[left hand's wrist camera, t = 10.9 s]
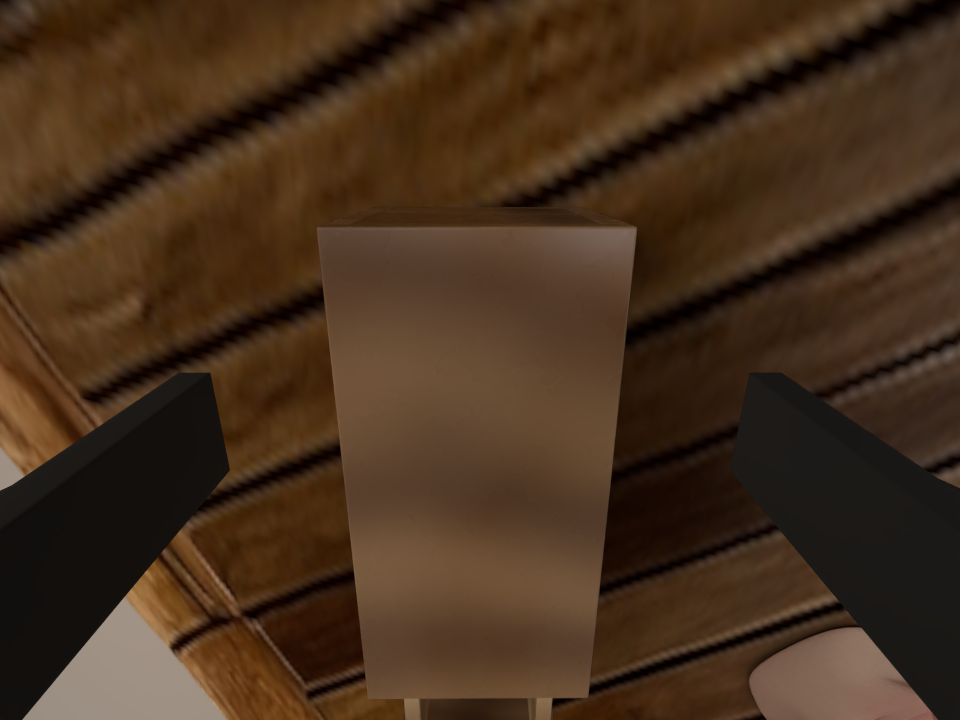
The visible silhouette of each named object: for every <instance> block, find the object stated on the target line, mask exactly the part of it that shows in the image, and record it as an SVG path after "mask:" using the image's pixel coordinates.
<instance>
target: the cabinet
mask: <svg viewBox="0 0 960 720" xmlns="http://www.w3.org/2000/svg"><path fill="white" fill-rule="evenodd" d="M636 235H637V227H636V226H633V225H630V224H628V223H626V222H623V221H620V220H617V219H614V218H611V217H608V216H605V215H602V214H600V213H597V212H594V211H591V210H588V209H585V208H582V207H373V208H370V209H368V210H365V211H362V212H359V213H356V214H353V215H350V216H347V217H345V218H342V219H339V220H336V221H333V222H330V223H327V224H324V225H322V226H319V227H317V237H318V246H319V255H320V265H321V274H322V283H323V292H324V301H325V310H326V319H327V329H328V338H329V347H330V356H331V365H332V374H333V383H334V392H335V402H336V411H337V420H338V429H339V438H340V447H341V456H342V465H343V475H344V484H345V493H346V502H347V511H348V520H349V529H350V538H351V548H352V557H353V566H354V575H355V584H356V593H357V602H358V611H359V621H360V630H361V639H362V648H363V657H364V666H365V675H366V685H367V694H368V699H460V698H588V695H589V685H590V675H591V666H592V656H593V647H594V637H595V628H596V618H597V608H598V599H599V589H600V580H601V570H602V560H603V551H604V541H605V532H606V522H607V513H608V503H609V493H610V484H611V474H612V465H613V455H614V445H615V436H616V426H617V417H618V407H619V398H620V388H621V378H622V369H623V359H624V350H625V340H626V331H627V321H628V311H629V302H630V292H631V283H632V273H633V263H634V254H635V244H636Z"/></svg>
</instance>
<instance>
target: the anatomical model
mask: <svg viewBox="0 0 960 720" xmlns="http://www.w3.org/2000/svg"><path fill="white" fill-rule="evenodd" d="M749 684H750V689H751V692H752V695H753V697H754V699H755V701H756V703H757V706H758V707H759V709H760V711H761V712H762V714H763V715H764V716H765V718H766V719H767V720H938V719H937V718H936V717H935V716H934V715H933V713H932V712H931V711H930V710H929V709H928V707H927V706H926V705H925V704H924V703H923V701H922V700H921V699H920V698H919V697H918V695H917V694H916V693H915V692H914V691H913V689H912V688H911V687H910V686H909V685H908V683H907V682H906V681H905V680H904V679H903V677H902V676H901V675H900V674H899V672H898V671H897V670H896V669H895V668H894V666H893V665H892V664H891V663H890V662H889V660H888V659H887V658H886V657H885V656H884V654H883V653H882V652H881V651H880V650H879V648H878V647H877V646H876V645H875V644H874V642H873V641H872V640H871V639H870V638H869V636H868V635H867V634H866V633H865V632H864V630H863V629H862V628H859V627H847V628H839V629H833V630H829V631H826V632H823V633H820V634H817V635H814V636H811V637H809V638H807V639H804V640H802V641H800V642H797V643H795V644H793V645H791V646H789V647H787V648H785V649H784V650H782V651H780V652H778V653H776V654H774V655H773V656H771V657H770V658H768V659H767V660H765V661H764V662H762V663H761V664H760V665H758V666H757V667H756V668H755V669H754V671H753V672H752V673H751V676H750V679H749Z"/></svg>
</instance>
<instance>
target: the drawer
mask: <svg viewBox="0 0 960 720" xmlns="http://www.w3.org/2000/svg"><path fill="white" fill-rule="evenodd" d="M404 705H405V708H404V715H403V720H554V718H553V711H552V698H460V699H404Z"/></svg>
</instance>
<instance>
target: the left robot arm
mask: <svg viewBox="0 0 960 720" xmlns="http://www.w3.org/2000/svg"><path fill="white" fill-rule="evenodd" d="M229 471H230V469H229V464H228V459H227V454H226V449H225V444H224V439H223V434H222V429H221V424H220V419H219V414H218V409H217V404H216V399H215V394H214V389H213V384H212V379H211V374H210V373H178V374H176V375H175V376H173V377H172V378H170V379H169V380H167V381H166V382H164V383H163V384H161V385H160V386H158V387H157V388H155V389H154V390H153V391H151V392H150V393H148V394H147V395H145V396H144V397H142V398H141V399H139V400H138V401H136V402H135V403H133V404H132V405H130V406H129V407H127V408H126V409H124V410H123V411H121V412H120V413H118V414H117V415H115V416H114V417H112V418H111V419H109V420H108V421H107V422H105V423H104V424H102V425H101V426H99V427H98V428H96V429H95V430H93V431H92V432H90V433H89V434H87V435H86V436H84V437H83V438H81V439H80V440H78V441H77V442H75V443H74V444H72V445H71V446H69V447H68V448H66V449H65V450H63V451H62V452H61V453H59V454H58V455H56V456H55V457H53V458H52V459H50V460H49V461H47V462H46V463H44V464H43V465H41V466H40V467H38V468H37V469H35V470H34V471H32V472H31V473H29V474H28V475H26V476H25V477H23V478H22V479H21V480H19V481H18V482H16V483H15V484H13V485H12V486H9V487H7V488H5V489H3V490H1V491H0V720H22V719H23V718H24V717H25V716H26V715H27V713H28V712H29V711H30V710H31V709H32V707H33V706H34V705H35V704H36V703H37V701H38V700H39V699H40V698H41V696H42V695H43V694H44V693H45V692H46V691H47V689H48V688H49V687H50V686H51V685H52V683H53V682H54V681H55V680H56V678H57V677H58V676H59V675H60V674H61V672H62V671H63V670H64V669H65V668H66V666H67V665H68V664H69V663H70V662H71V660H72V659H73V658H74V657H75V656H76V654H77V653H78V652H79V651H80V650H81V648H82V647H83V646H84V645H85V644H86V642H87V641H88V640H89V639H90V638H91V636H92V635H93V634H94V633H95V632H96V630H97V629H98V628H99V627H100V626H101V624H102V623H103V622H104V621H105V620H106V618H107V617H108V616H109V615H110V614H111V612H112V611H113V610H114V609H115V608H116V606H117V605H118V604H119V603H120V602H121V600H122V599H123V598H124V597H125V596H126V594H127V593H128V592H129V591H130V590H131V588H132V587H133V586H134V585H135V584H136V582H137V581H138V580H139V579H140V578H141V576H142V575H143V574H144V573H145V572H146V570H147V569H148V568H149V567H150V566H151V564H152V563H153V562H154V561H155V560H156V558H157V557H158V556H159V555H160V554H161V552H162V551H163V550H164V549H165V548H166V546H167V545H168V544H169V543H170V542H171V540H172V539H173V538H174V537H175V536H176V534H177V533H178V532H179V531H180V530H181V528H182V527H183V526H184V525H185V524H186V522H187V521H188V520H189V519H190V518H191V516H192V515H193V514H194V513H195V512H196V510H197V509H198V508H199V507H200V506H201V504H202V503H203V502H204V501H205V500H206V498H207V497H208V496H209V495H210V494H211V492H212V491H213V490H214V489H215V488H216V486H217V485H218V484H219V483H220V481H221V480H222V479H223V478H224V477H225V475H226V474H227V473H228V472H229ZM730 471H731V472H732V473H733V474H734V475H735V477H736V478H737V479H738V480H739V481H740V483H741V484H742V485H743V486H744V488H745V489H746V490H747V491H748V492H749V494H750V495H751V496H752V497H753V498H754V500H755V501H756V502H757V503H758V504H759V506H760V507H761V508H762V509H763V510H764V512H765V513H766V514H767V515H768V516H769V518H770V519H771V520H772V521H773V522H774V524H775V525H776V526H777V527H778V528H779V530H780V531H781V532H782V533H783V534H784V536H785V537H786V538H787V539H788V540H789V542H790V543H791V544H792V545H793V546H794V548H795V549H796V550H797V551H798V552H799V554H800V555H801V556H802V557H803V558H804V560H805V561H806V562H807V563H808V564H809V566H810V567H811V568H812V569H813V570H814V572H815V573H816V574H817V575H818V576H819V578H820V579H821V580H822V581H823V582H824V584H825V585H826V586H827V587H828V588H829V590H830V591H831V592H832V593H833V594H834V596H835V597H836V598H837V599H838V600H839V602H840V603H841V604H842V605H843V606H844V608H845V609H846V610H847V611H848V612H849V614H850V615H851V616H852V617H853V618H854V620H855V621H856V622H857V623H858V624H859V626H860V627H861V628H862V629H863V630H864V632H865V633H866V634H867V635H868V636H869V638H870V639H871V640H872V641H873V642H874V644H875V645H876V646H877V647H878V648H879V650H880V651H881V652H882V653H883V654H884V656H885V657H886V658H887V659H888V660H889V662H890V663H891V664H892V665H893V666H894V668H895V669H896V670H897V671H898V672H899V674H900V675H901V676H902V677H903V679H904V680H905V681H906V682H907V683H908V685H909V686H910V687H911V688H912V689H913V691H914V692H915V693H916V694H917V695H918V697H919V698H920V699H921V700H922V701H923V703H924V704H925V705H926V706H927V707H928V709H929V710H930V711H931V712H932V713H933V715H934V716H935V717H936V718H937V719H938V720H960V488H958V487H956V486H953V485H951V484H949V483H947V482H945V481H942V480H940V479H938V478H937V477H935V476H934V475H932V474H931V473H929V472H928V471H926V470H925V469H923V468H922V467H920V466H919V465H917V464H916V463H914V462H913V461H911V460H910V459H908V458H907V457H905V456H904V455H902V454H901V453H899V452H898V451H897V450H895V449H894V448H892V447H891V446H889V445H888V444H886V443H885V442H883V441H882V440H880V439H879V438H877V437H876V436H874V435H873V434H871V433H870V432H868V431H867V430H865V429H864V428H862V427H861V426H859V425H858V424H856V423H855V422H853V421H852V420H851V419H849V418H848V417H846V416H845V415H843V414H842V413H840V412H839V411H837V410H836V409H834V408H833V407H831V406H830V405H828V404H827V403H825V402H824V401H822V400H821V399H819V398H818V397H816V396H815V395H813V394H812V393H810V392H809V391H807V390H806V389H805V388H803V387H802V386H800V385H799V384H797V383H796V382H794V381H793V380H791V379H790V378H788V377H787V376H785V375H784V374H782V373H750V374H749V379H748V384H747V389H746V394H745V399H744V404H743V409H742V414H741V419H740V424H739V429H738V434H737V439H736V444H735V449H734V454H733V459H732V464H731V469H730Z"/></svg>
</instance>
